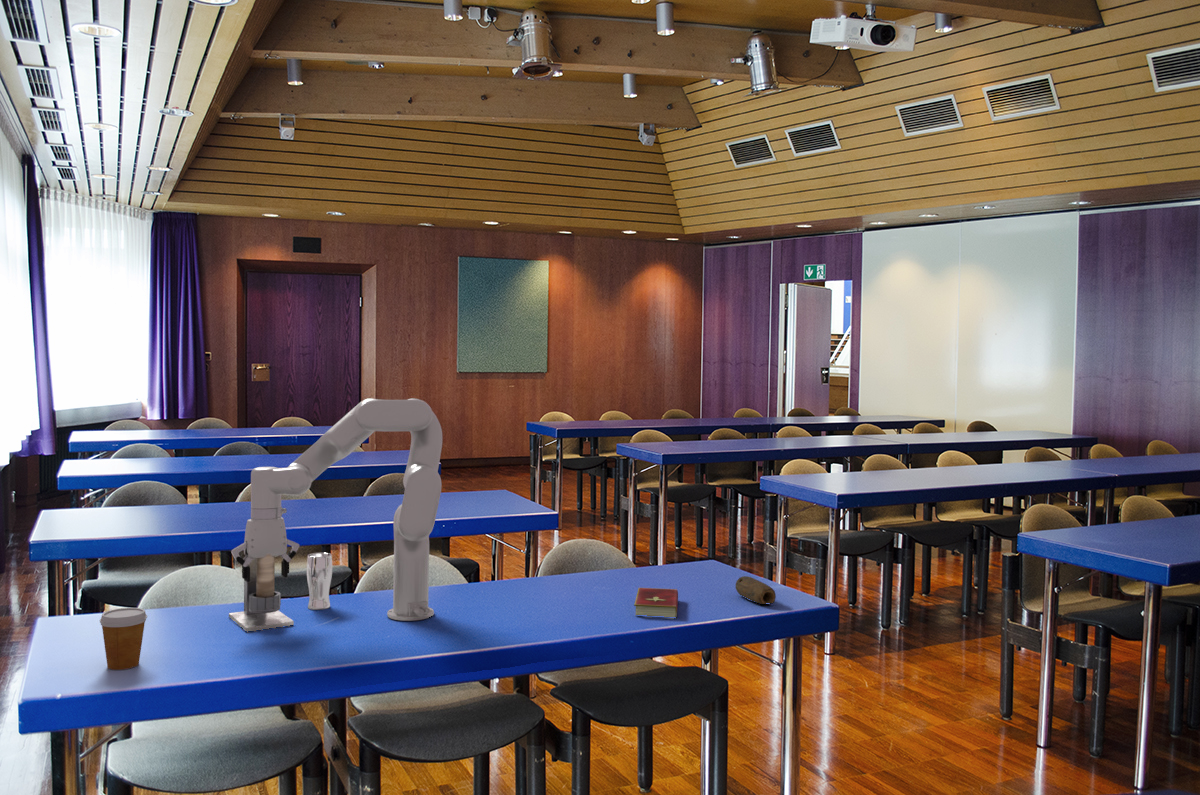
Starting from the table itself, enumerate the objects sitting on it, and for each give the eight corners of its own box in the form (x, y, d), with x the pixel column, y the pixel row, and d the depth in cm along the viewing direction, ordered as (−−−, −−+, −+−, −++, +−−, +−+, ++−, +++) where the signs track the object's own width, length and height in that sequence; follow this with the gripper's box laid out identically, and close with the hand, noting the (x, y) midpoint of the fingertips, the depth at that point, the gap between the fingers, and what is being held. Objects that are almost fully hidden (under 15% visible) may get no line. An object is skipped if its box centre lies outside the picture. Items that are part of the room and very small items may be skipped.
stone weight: (730, 597, 279) (731, 575, 279) (749, 595, 283) (750, 573, 282) (760, 608, 266) (760, 586, 266) (779, 606, 269) (779, 584, 269)
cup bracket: (293, 625, 238) (294, 564, 238) (246, 632, 231) (247, 569, 231) (273, 611, 252) (274, 553, 252) (228, 617, 245) (229, 558, 244)
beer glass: (335, 604, 261) (336, 552, 260) (325, 610, 254) (326, 557, 253) (312, 603, 261) (312, 552, 261) (302, 609, 254) (302, 556, 254)
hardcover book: (678, 602, 273) (678, 588, 273) (676, 620, 252) (677, 605, 252) (638, 600, 274) (638, 586, 274) (634, 618, 254) (634, 603, 253)
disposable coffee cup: (122, 657, 210) (123, 605, 209) (156, 661, 207) (157, 609, 207) (88, 669, 200) (89, 615, 200) (123, 674, 198) (124, 619, 197)
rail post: (276, 606, 238) (276, 553, 238) (259, 608, 236) (259, 555, 235) (271, 602, 242) (271, 550, 241) (254, 605, 239) (254, 552, 239)
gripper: (294, 509, 246) (294, 572, 247) (227, 514, 236) (227, 580, 236) (303, 513, 240) (303, 577, 241) (235, 518, 230) (235, 585, 230)
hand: (265, 578), depth 239 cm, fingers open, 9 cm apart
